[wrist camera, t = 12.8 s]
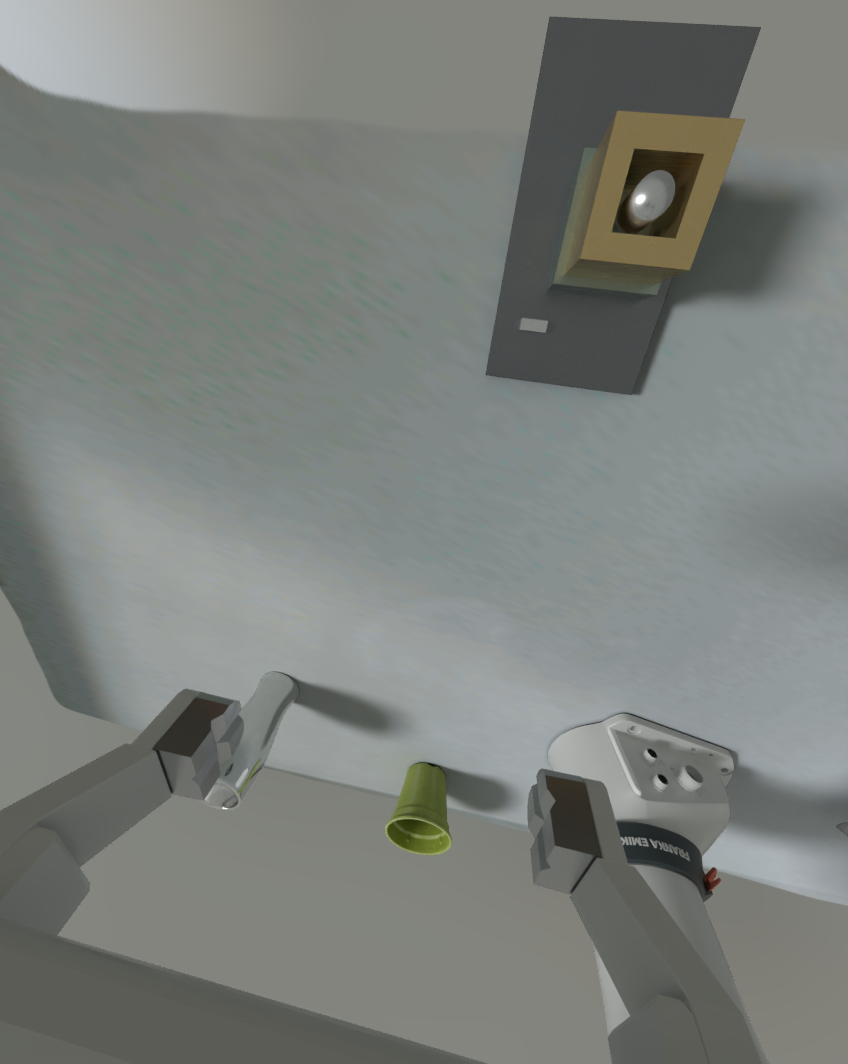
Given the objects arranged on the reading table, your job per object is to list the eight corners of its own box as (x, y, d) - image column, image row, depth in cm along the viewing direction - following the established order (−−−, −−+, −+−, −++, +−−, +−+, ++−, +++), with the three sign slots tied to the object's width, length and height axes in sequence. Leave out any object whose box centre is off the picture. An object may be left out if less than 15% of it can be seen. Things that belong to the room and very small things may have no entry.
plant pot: (467, 786, 58) (463, 852, 50) (418, 795, 61) (407, 858, 54) (437, 749, 55) (429, 813, 48) (387, 761, 59) (372, 823, 51)
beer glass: (311, 691, 54) (253, 802, 41) (283, 708, 57) (221, 817, 43) (276, 662, 52) (203, 767, 39) (249, 680, 55) (173, 784, 42)
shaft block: (750, 40, 22) (889, -126, 14) (627, 393, 31) (672, 406, 23) (547, 29, 23) (576, -131, 15) (485, 374, 32) (485, 380, 24)
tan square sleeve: (693, 166, 22) (745, 119, 18) (653, 285, 25) (689, 270, 20) (591, 158, 23) (617, 110, 18) (563, 275, 25) (580, 258, 21)
